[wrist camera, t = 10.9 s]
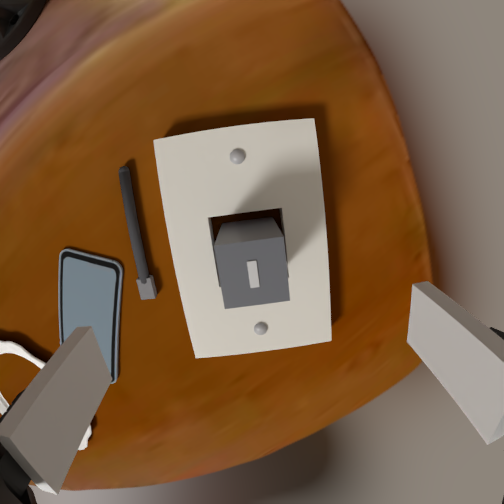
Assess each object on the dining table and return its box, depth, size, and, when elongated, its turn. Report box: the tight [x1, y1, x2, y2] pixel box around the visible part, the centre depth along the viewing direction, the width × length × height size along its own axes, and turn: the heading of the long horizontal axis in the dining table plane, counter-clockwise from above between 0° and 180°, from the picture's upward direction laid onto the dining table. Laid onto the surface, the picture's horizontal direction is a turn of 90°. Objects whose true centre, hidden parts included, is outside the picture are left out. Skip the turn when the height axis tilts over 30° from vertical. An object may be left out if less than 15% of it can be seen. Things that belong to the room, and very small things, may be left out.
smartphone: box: [59, 248, 123, 384], centre depth 30 cm, size 7×1×15 cm
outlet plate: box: [154, 118, 331, 358], centre depth 27 cm, size 20×13×2 cm, turn 7°
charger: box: [214, 217, 290, 309], centre depth 24 cm, size 4×4×8 cm
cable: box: [119, 166, 157, 300], centre depth 27 cm, size 12×1×1 cm, turn 7°
